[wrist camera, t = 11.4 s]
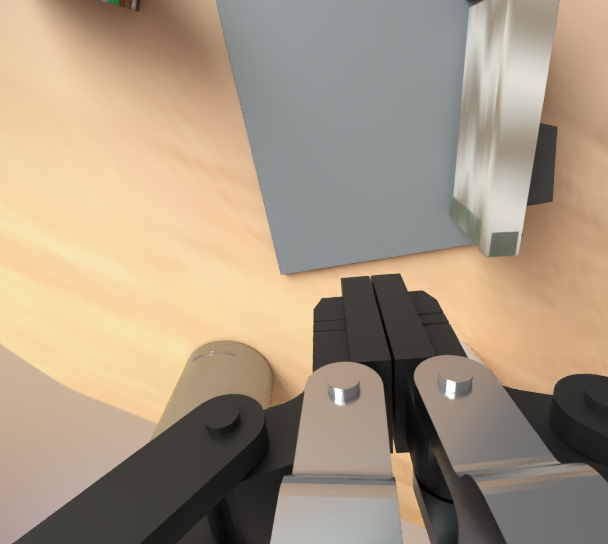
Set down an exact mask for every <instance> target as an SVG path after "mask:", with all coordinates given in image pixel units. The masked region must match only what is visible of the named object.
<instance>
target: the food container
mask: <svg viewBox="0 0 608 544" xmlns="http://www.w3.org/2000/svg"><path fill="white" fill-rule="evenodd" d="M101 1H103V2H106V3H107V2H110V3H113V4H116V5H119V6H122V7H125V8H128V9H131V10H134V11H136V12H138V10H139V3H140V0H101Z"/></svg>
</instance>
